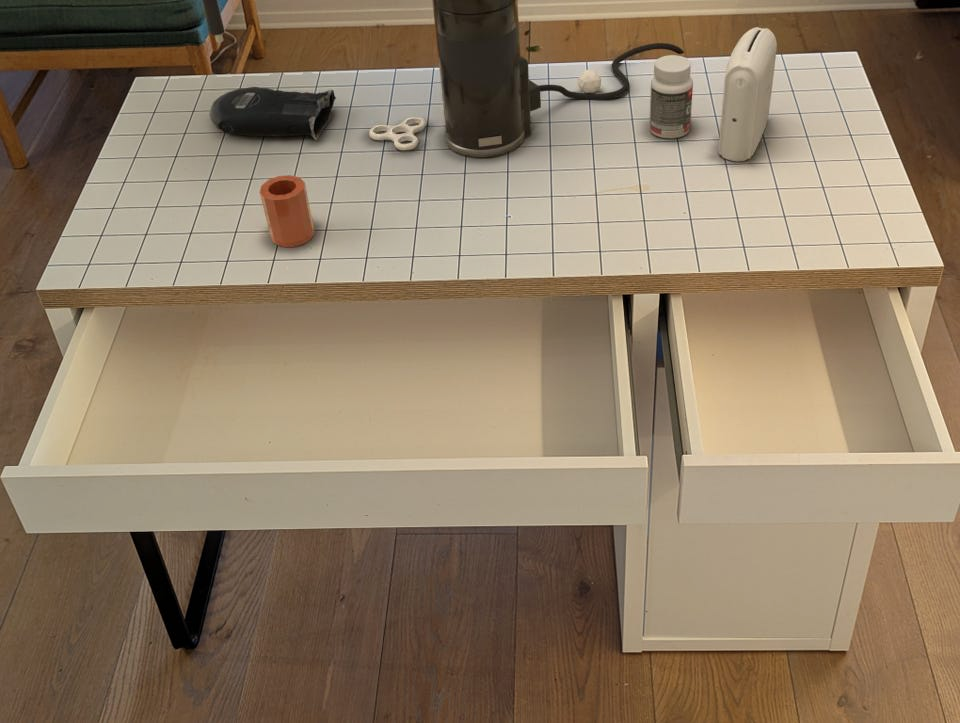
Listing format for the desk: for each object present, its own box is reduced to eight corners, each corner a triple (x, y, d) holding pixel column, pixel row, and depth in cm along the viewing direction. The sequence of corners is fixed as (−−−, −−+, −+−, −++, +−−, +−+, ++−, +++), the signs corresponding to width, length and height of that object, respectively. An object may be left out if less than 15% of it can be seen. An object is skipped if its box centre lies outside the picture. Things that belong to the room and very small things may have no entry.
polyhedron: (601, 86, 135) (601, 64, 133) (600, 98, 133) (601, 76, 131) (578, 87, 135) (578, 65, 133) (577, 98, 133) (577, 76, 131)
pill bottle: (693, 137, 124) (698, 70, 119) (653, 141, 124) (656, 74, 119) (685, 117, 128) (689, 51, 122) (645, 121, 128) (648, 55, 122)
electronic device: (340, 114, 137) (228, 95, 139) (337, 78, 133) (221, 59, 134) (318, 161, 131) (201, 141, 133) (314, 125, 127) (193, 104, 129)
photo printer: (751, 165, 119) (763, 61, 111) (713, 159, 121) (722, 56, 112) (771, 120, 126) (784, 19, 118) (735, 115, 127) (745, 15, 119)
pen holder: (303, 217, 118) (293, 170, 114) (321, 236, 115) (311, 189, 111) (264, 232, 116) (253, 185, 112) (282, 252, 113) (270, 204, 109)
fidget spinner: (422, 119, 132) (421, 113, 131) (438, 144, 127) (437, 138, 126) (367, 132, 130) (366, 126, 130) (381, 157, 126) (380, 152, 125)
